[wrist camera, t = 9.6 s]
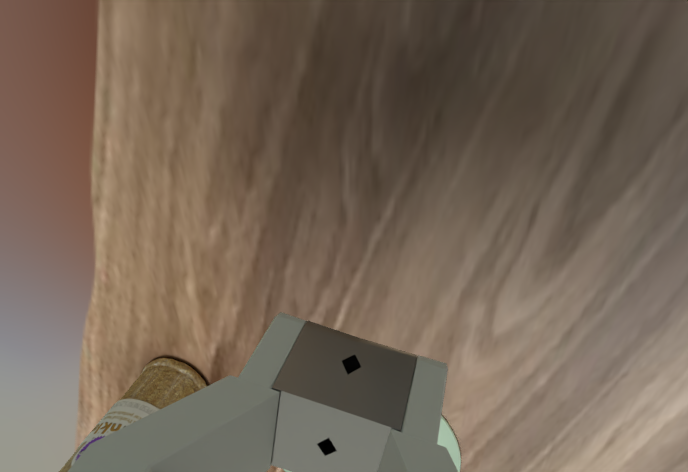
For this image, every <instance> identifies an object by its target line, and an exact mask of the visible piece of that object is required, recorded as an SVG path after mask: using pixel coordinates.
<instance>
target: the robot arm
mask: <svg viewBox="0 0 688 472" xmlns="http://www.w3.org/2000/svg"><path fill="white" fill-rule="evenodd" d="M447 371H448V367H447V364H446V363H443V362H439V361H436V360H433V359H429V358H426V357H422V356H419V355H418V356H417V355H415V354H412V353H408V352H405V351H402V350H398V349H395V348H392V347H388V346H385V345H382V344H378V343H375V342H372V341H368V340H365V339H361V338H358V337H355V336H352V335H349V334H346V333H343V332H340V331H337V330H334V329H331V328H328V327H325V326H322V325H319V324H316V323H313V322H310V321H305V320H302V319H299V318H296V317H293V316H291V315H288V314H285V313H282V312H280V313H279V314H278V315H277V316H276V317H275V318H274V319H273V321H272V323H271V324H270V326H269V328H268V329H267V331H266V333H265V334H264V336H263V338H262V339H261V341H260V343H259V344H258V346H257V347H256V349H255V351H254V352H253V354H252V356H251V357H250V359H249V361H248V362H247V364H246V366H245V367H244V369H243V371H242V372H241V374H240V376H239V377H238V378H237V377H234V376H231V375H229V376H227V377H225V378H223V379H221V380H219V381H217V382H215V383H213V384H211V385H209V386H207V387H205V388H203V389H201V390H199V391H197V392H195V393H193V394H191V395H189V396H187V397H185V398H183V399H181V400H179V401H176V402H174V403H172V404H170V405H168V406H166V407H164V408H162V409H160V410H158V411H156V412H154V413H152V414H150V415H148V416H146V417H144V418H142V419H140V420H138V421H136V422H134V423H132V424H130V425H128V426H126V427H124V428H122V429H120V430H118V431H116V432H113V433H111V434H109V435H107V436H105V437H103V438H101V439H99V440H97V441H95V442H93V443H91V444H90V445H89V446H88V447H87V448H86V450H85V451H84V452H83V453H82V455H81V456H80V457H79V458H78V459H77V461H76V462H75V463H74V464H73V466H72V467H71V468H70V469H69V470H68V472H266V471H267V470H268V469H270V465H273V466H276V467H279V468H282V469H285V470H288V471H291V472H458V470H457V468H456V466H455V464H454V462H453V460H452V458H451V456H450V454H449V452H448V450H447V448H446V447H443V446H440V445H438V444H437V442H438V435H439V428H440V421H441V414H442V407H443V399H444V392H445V385H446V378H447Z"/></svg>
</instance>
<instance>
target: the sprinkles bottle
mask: <svg viewBox="0 0 688 472" xmlns="http://www.w3.org/2000/svg"><path fill="white" fill-rule="evenodd" d="M205 387H207V385H206V383H205V381H204V380H203V379H202V378H201V376H200V375H199V374H198V373H197V372H196V371H195V370H193V369H192V368H191V367H189V366H188V365H186V364H185V363H182V362H179V361H176V360H174V359H167V358H159V359H156V360H154V361H152V362H150V363H149V364H147V365H146V366H145V368H144V369H143V371H142V374H141V375H140V377H139V378H138V379H137V380H136V381H135V382H134V384H133V385H132V386H131V387H130V389H129V390H128V391H127V392H126V393H125V395H124V396H123V397H122V398H121V399H120V400H119V401H118V402H116V403H115V404H114V405H113V406H112V408H111V409H110V410H109V411H108V412H107V414H106V415H105V416H104V417H103V418H102V419H101V421H100V422H99V423H98V424H97V425H96V427H95V428H94V429H93V430H92V431H91V432H90V434H89V435H88V436H87V437H86V438H85V440H84V441H83V442H82V443H81V444H80V446H79V447H78V449H77V451H76V452H75V453H74V454H73V456H72V457H71V458H70V459H69V460H68V462H67V463H66V464H65V466H64V467H63V468H62V469H61V470H60V471H59V472H68V470H69V469H70V468H71V467H72V466H73V464H74V463H75V462H76V461H77V459H78V458H79V457H80V456H81V455H82V453H83V452H84V451H85V450H86V448H87V447H88V446H89V445H90V444H91V443H93V442H95V441H97V440H99V439H101V438H103V437H105V436H107V435H109V434H111V433H113V432H116V431H118V430H120V429H122V428H124V427H126V426H128V425H130V424H132V423H134V422H136V421H138V420H140V419H142V418H144V417H146V416H148V415H150V414H152V413H154V412H156V411H158V410H160V409H162V408H164V407H166V406H168V405H170V404H172V403H174V402H176V401H179V400H181V399H183V398H185V397H187V396H189V395H191V394H193V393H195V392H197V391H199V390H201V389H203V388H205Z"/></svg>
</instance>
